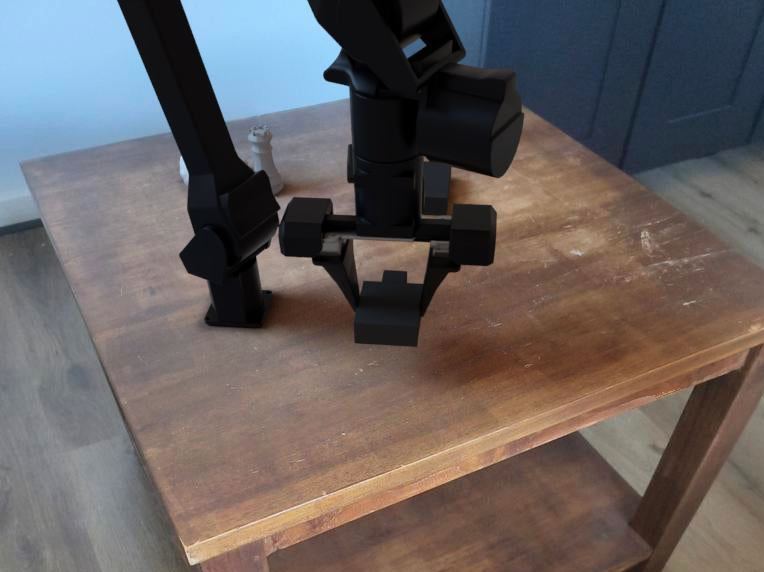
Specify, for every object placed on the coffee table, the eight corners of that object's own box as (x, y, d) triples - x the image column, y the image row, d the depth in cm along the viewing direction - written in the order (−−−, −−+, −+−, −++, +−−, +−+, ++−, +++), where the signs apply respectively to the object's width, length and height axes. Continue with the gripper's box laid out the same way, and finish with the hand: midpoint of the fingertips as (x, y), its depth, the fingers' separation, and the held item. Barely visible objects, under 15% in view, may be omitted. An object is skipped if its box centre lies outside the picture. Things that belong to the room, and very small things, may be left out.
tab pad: (417, 347, 68) (417, 326, 66) (354, 343, 69) (353, 322, 67) (424, 292, 74) (425, 271, 72) (366, 289, 74) (366, 268, 72)
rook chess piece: (278, 198, 97) (270, 137, 91) (247, 196, 98) (237, 135, 92) (288, 183, 100) (280, 122, 94) (257, 180, 101) (248, 120, 95)
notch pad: (446, 215, 94) (447, 197, 92) (370, 212, 95) (370, 194, 93) (450, 179, 100) (451, 162, 98) (379, 176, 101) (379, 159, 99)
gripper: (505, 109, 62) (488, 271, 74) (293, 103, 63) (310, 262, 75) (504, 169, 55) (485, 337, 67) (265, 160, 56) (289, 326, 68)
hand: (389, 312), depth 70 cm, fingers closed on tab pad, 6 cm apart
